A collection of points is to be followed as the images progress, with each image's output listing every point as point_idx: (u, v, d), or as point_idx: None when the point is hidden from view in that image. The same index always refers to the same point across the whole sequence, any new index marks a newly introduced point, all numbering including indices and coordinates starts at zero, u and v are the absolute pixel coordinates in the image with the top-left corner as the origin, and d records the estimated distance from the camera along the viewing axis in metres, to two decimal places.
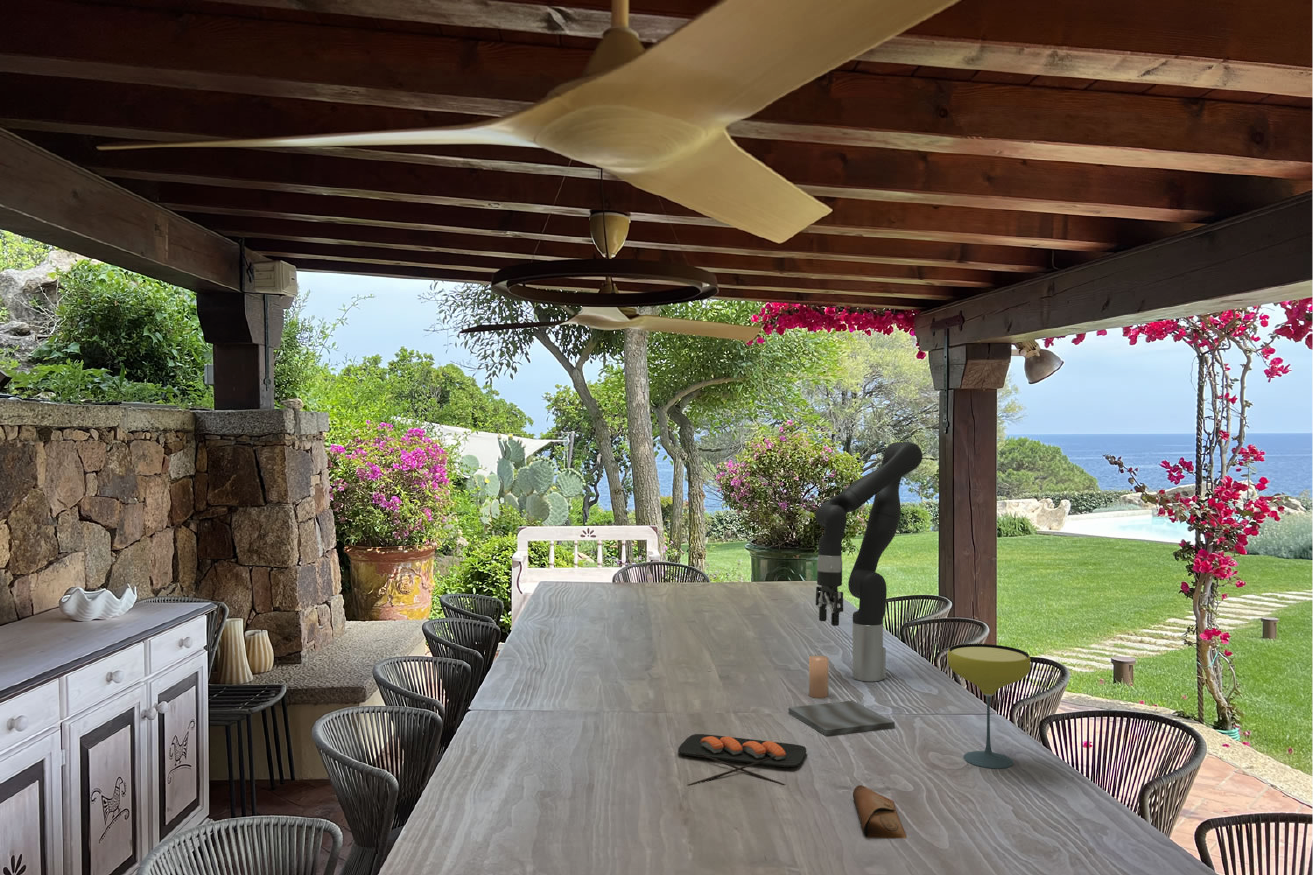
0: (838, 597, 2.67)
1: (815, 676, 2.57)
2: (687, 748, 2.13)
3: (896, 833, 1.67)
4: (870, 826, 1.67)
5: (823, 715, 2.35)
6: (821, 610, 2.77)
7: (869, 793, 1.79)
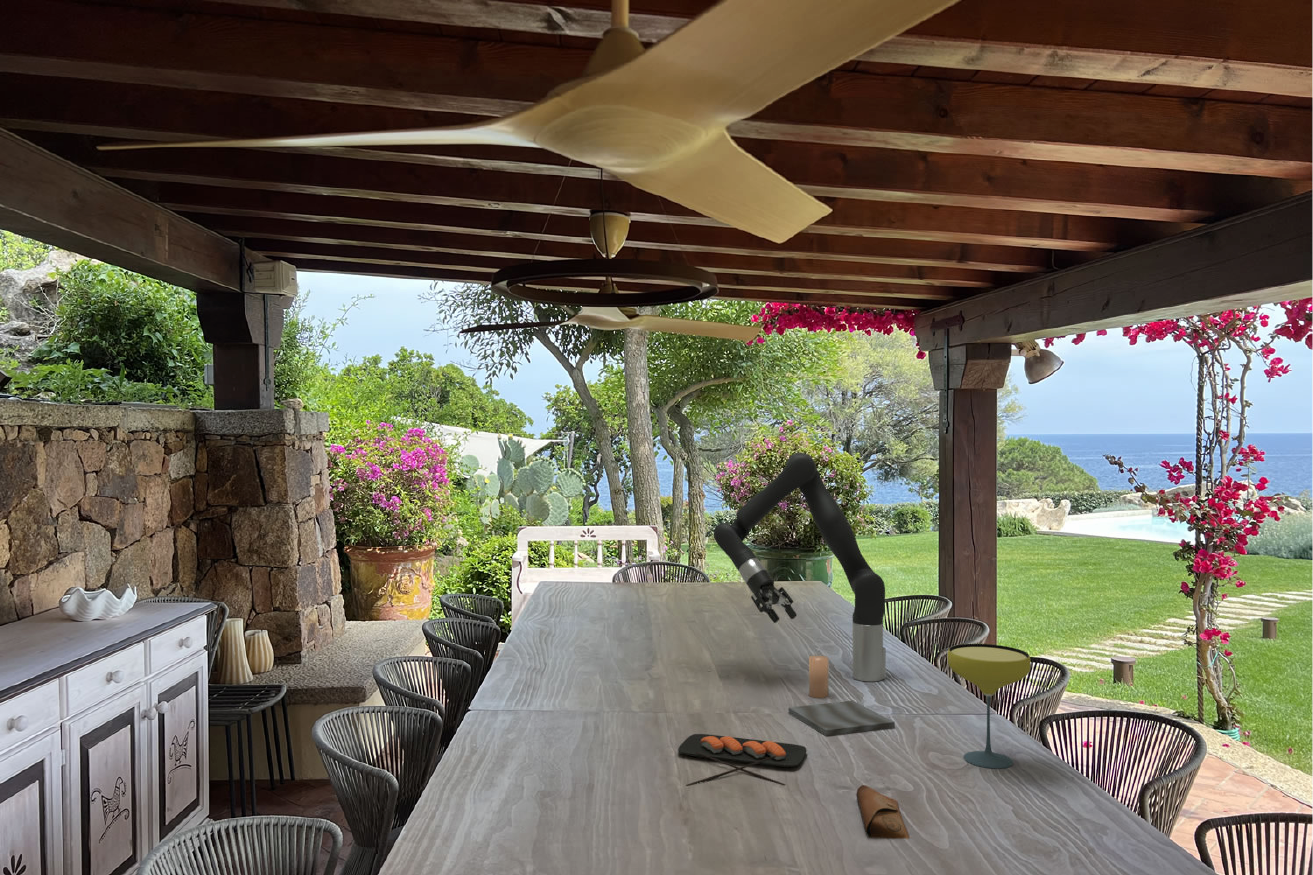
0: (754, 599, 2.67)
1: (815, 676, 2.57)
2: (687, 748, 2.13)
3: (898, 833, 1.67)
4: (872, 827, 1.67)
5: (823, 715, 2.35)
6: (786, 610, 2.72)
7: (872, 793, 1.79)
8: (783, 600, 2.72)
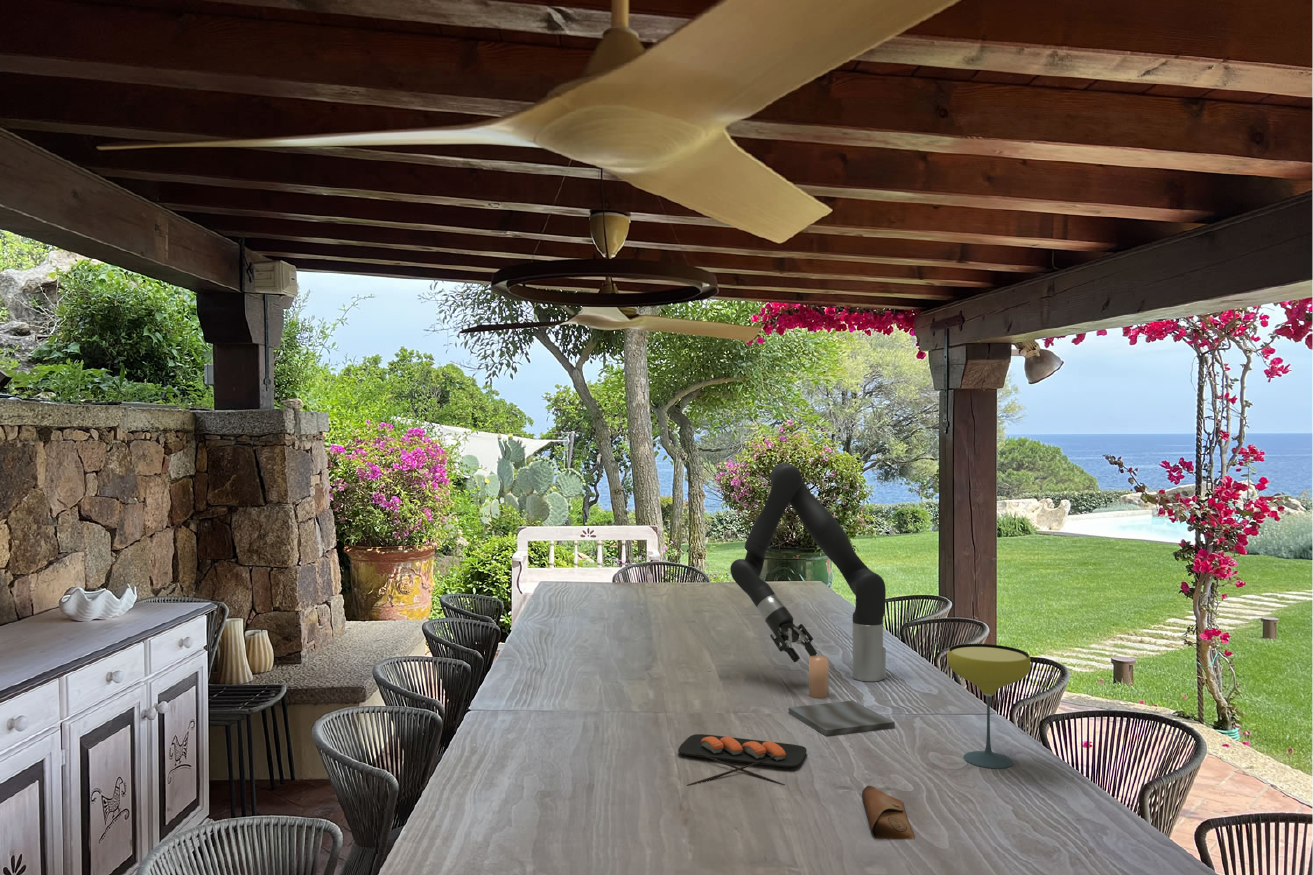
0: (774, 637, 2.62)
1: (815, 676, 2.57)
2: (687, 748, 2.13)
3: (904, 834, 1.67)
4: (878, 827, 1.67)
5: (823, 715, 2.35)
6: (806, 647, 2.67)
7: (877, 793, 1.78)
8: (803, 638, 2.67)
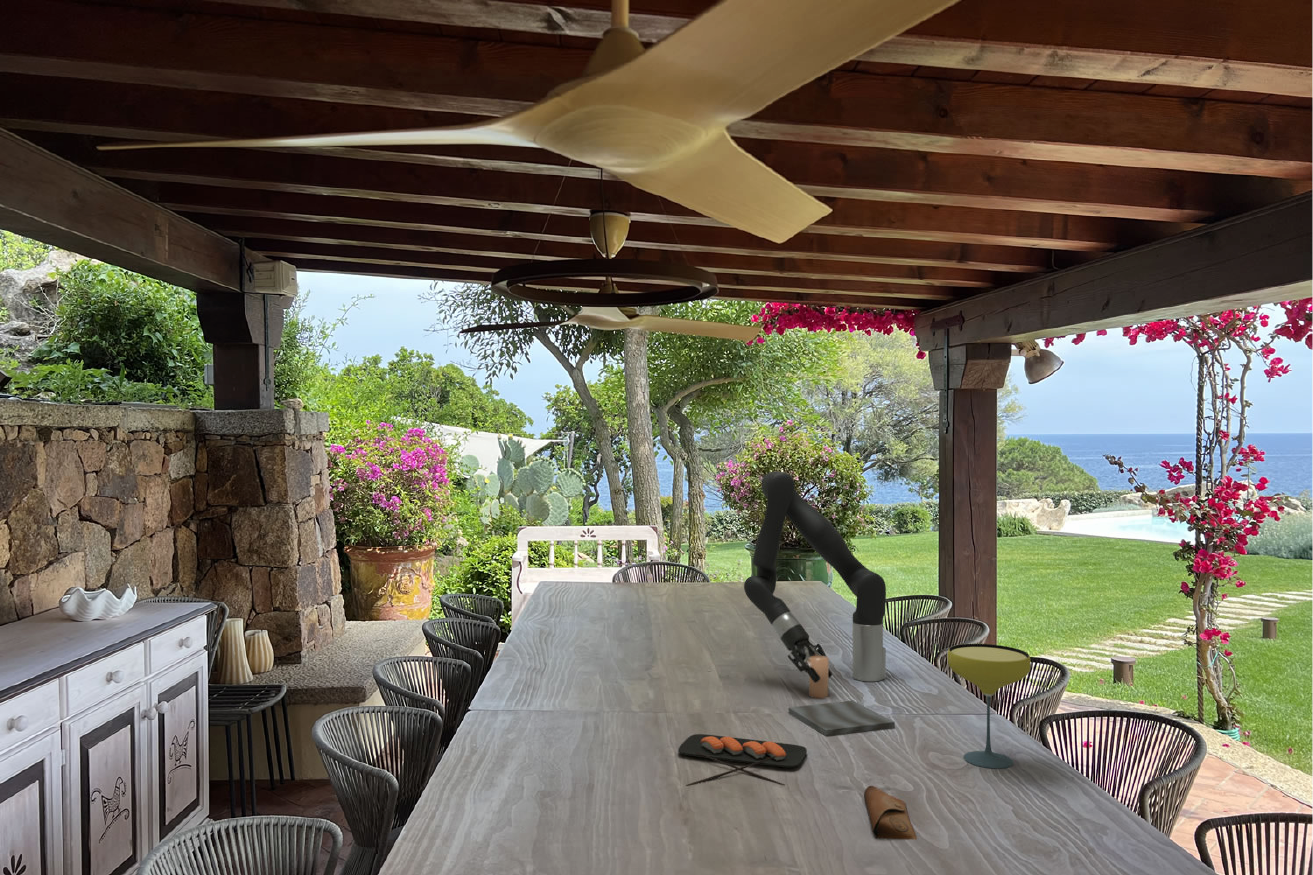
0: (792, 658, 2.58)
1: None
2: (687, 748, 2.13)
3: (906, 834, 1.67)
4: (879, 827, 1.67)
5: (823, 715, 2.35)
6: None
7: (879, 794, 1.78)
8: None
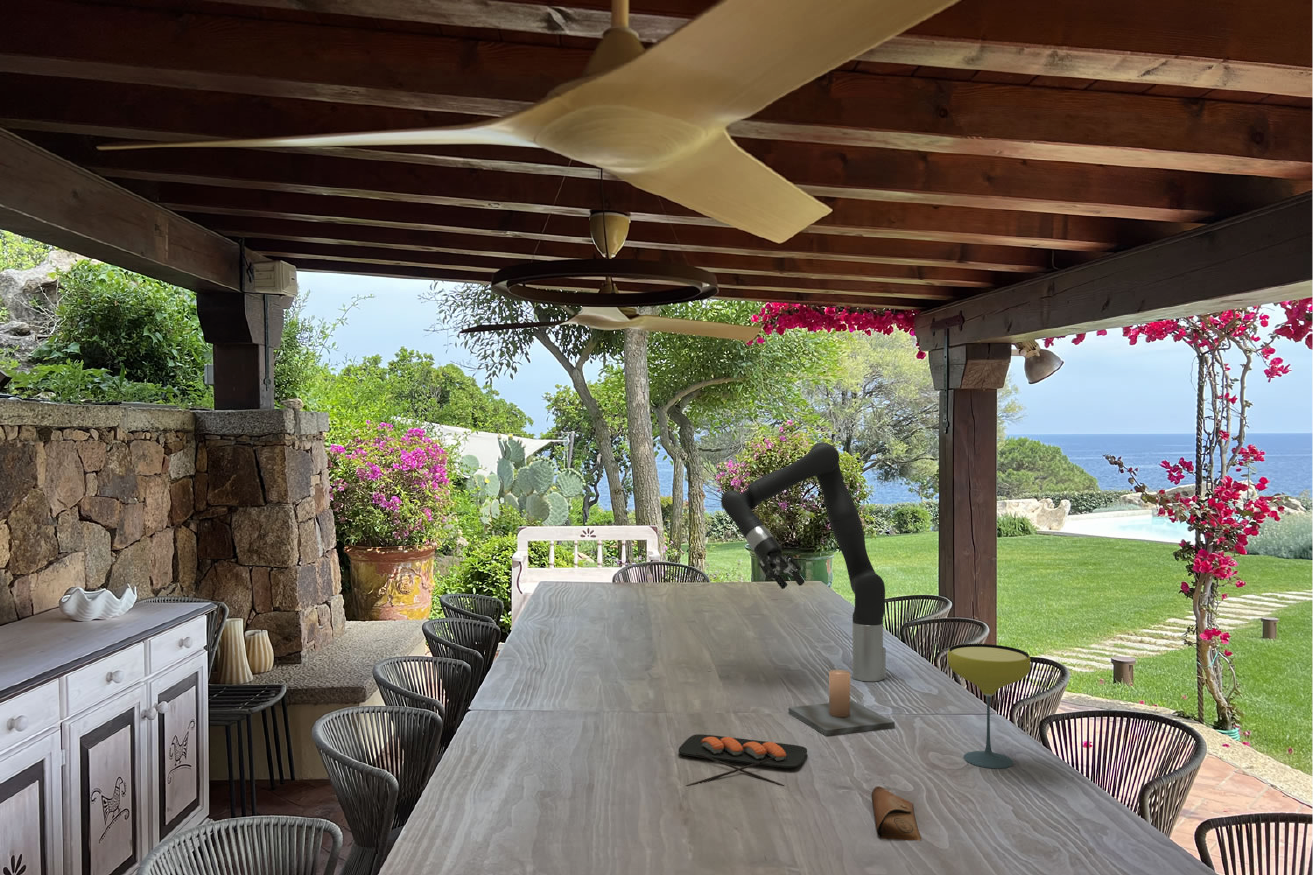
0: (762, 565, 2.66)
1: (835, 692, 2.35)
2: (687, 748, 2.12)
3: (910, 835, 1.66)
4: (883, 828, 1.67)
5: (823, 715, 2.35)
6: (794, 576, 2.71)
7: (886, 794, 1.78)
8: (791, 567, 2.71)
